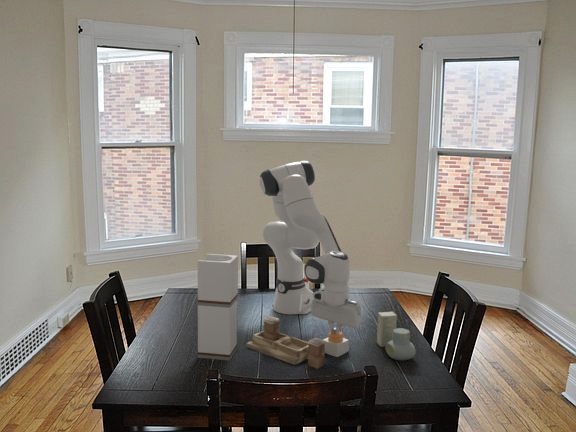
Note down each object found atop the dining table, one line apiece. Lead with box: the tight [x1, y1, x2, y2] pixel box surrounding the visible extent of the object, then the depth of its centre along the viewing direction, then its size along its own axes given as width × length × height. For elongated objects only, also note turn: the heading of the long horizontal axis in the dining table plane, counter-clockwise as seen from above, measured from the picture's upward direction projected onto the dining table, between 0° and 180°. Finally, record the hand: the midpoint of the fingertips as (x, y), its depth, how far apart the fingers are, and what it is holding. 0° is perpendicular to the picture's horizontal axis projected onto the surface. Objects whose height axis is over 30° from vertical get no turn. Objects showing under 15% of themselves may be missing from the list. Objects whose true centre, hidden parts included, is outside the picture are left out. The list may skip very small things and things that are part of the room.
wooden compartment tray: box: [246, 316, 309, 366], centre depth 209 cm, size 14×23×10 cm, turn 50°
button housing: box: [322, 337, 350, 358], centre depth 209 cm, size 7×7×4 cm
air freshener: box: [385, 327, 417, 361], centre depth 205 cm, size 11×8×10 cm
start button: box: [327, 331, 344, 343], centre depth 208 cm, size 5×5×3 cm
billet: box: [307, 337, 326, 369], centre depth 197 cm, size 4×4×9 cm
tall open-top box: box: [197, 253, 239, 362], centre depth 203 cm, size 11×11×35 cm
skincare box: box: [376, 311, 398, 347], centre depth 216 cm, size 6×4×12 cm
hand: (334, 333), depth 208 cm, fingers closed, pressing on start button
